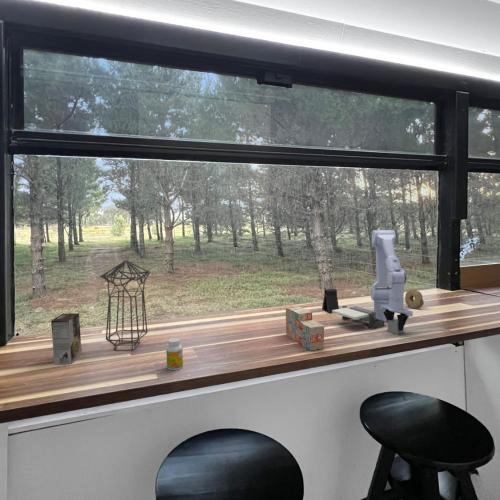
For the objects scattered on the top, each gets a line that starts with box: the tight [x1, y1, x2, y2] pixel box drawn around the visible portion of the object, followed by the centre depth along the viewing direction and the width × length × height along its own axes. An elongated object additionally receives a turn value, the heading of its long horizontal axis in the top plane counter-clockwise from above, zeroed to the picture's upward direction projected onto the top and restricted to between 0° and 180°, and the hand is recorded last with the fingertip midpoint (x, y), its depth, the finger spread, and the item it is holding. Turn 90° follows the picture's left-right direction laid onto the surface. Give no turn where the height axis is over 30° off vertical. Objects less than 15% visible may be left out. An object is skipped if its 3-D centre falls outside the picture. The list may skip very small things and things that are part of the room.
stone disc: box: [404, 289, 425, 309], centre depth 189 cm, size 10×4×10 cm, turn 26°
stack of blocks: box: [285, 305, 325, 352], centre depth 141 cm, size 21×6×12 cm, turn 20°
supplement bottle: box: [165, 337, 184, 371], centre depth 118 cm, size 5×5×10 cm
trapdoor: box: [331, 305, 376, 322], centre depth 161 cm, size 15×14×4 cm
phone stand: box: [321, 288, 340, 314], centre depth 186 cm, size 9×6×12 cm, turn 13°
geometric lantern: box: [99, 260, 151, 352], centre depth 136 cm, size 16×16×35 cm
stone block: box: [387, 318, 405, 335], centre depth 150 cm, size 4×4×5 cm
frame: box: [341, 305, 386, 330], centre depth 164 cm, size 9×18×7 cm, turn 31°
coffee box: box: [50, 313, 83, 366], centre depth 125 cm, size 9×6×16 cm
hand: (395, 328), depth 151 cm, fingers closed on stone block, 4 cm apart
